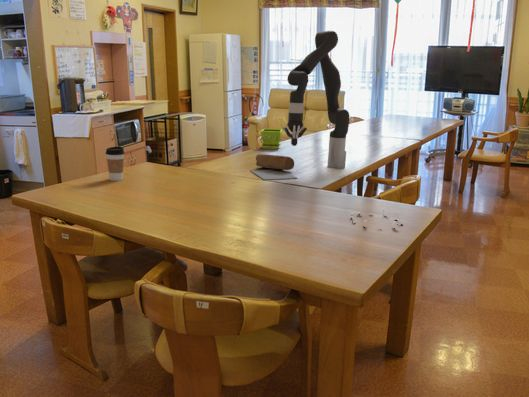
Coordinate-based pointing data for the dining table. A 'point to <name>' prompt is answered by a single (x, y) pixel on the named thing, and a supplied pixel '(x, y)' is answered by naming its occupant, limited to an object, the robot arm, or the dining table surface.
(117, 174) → the coffee cup
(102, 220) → the dining table surface
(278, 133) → the flower pot
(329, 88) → the robot arm
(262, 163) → the sandstone rock
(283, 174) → the mat
